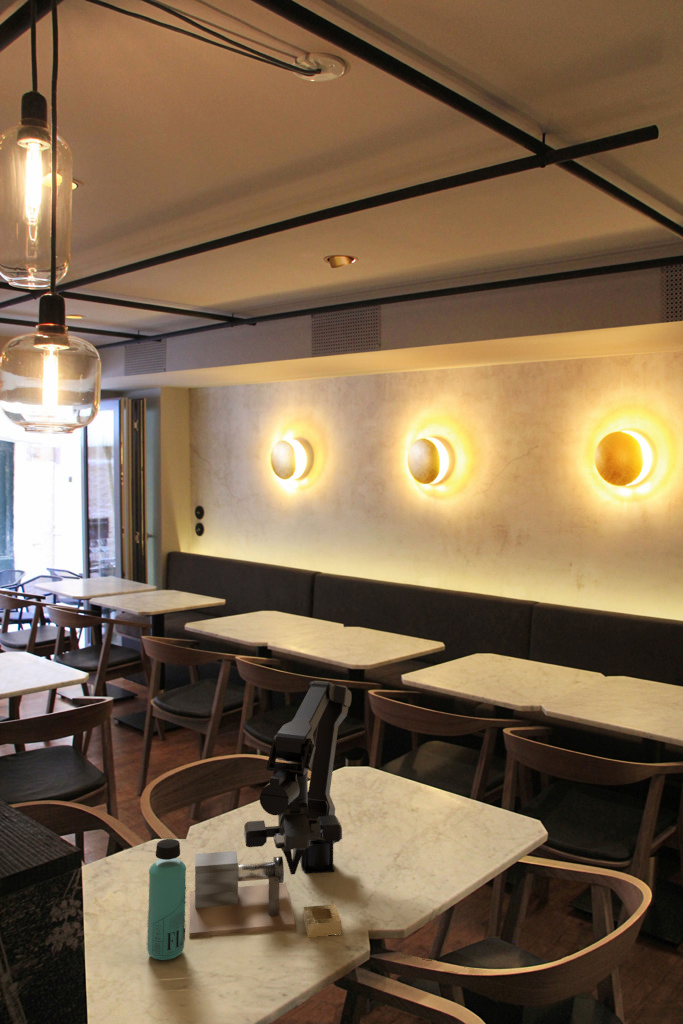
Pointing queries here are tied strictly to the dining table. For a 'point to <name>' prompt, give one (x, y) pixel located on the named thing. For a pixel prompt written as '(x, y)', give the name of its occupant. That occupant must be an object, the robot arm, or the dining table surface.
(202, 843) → the dining table surface
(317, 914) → the frame
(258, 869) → the shaft
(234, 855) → the shaft stand
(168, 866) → the beverage bottle
